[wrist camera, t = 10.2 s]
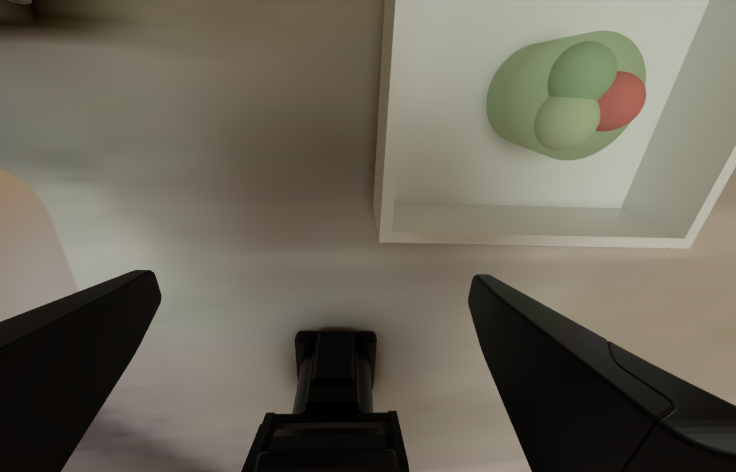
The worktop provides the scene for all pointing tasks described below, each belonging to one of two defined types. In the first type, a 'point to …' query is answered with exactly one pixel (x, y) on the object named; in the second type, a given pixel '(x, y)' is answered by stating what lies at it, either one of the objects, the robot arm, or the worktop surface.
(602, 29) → the serving bin
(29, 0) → the coffee box
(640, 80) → the salad portion
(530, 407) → the robot arm
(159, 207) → the worktop surface
